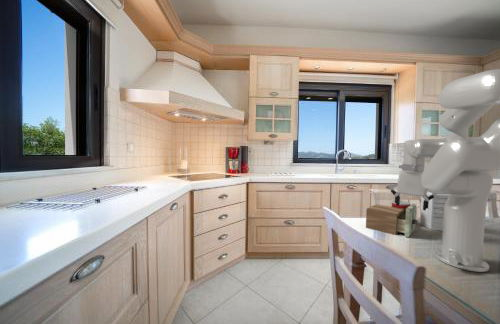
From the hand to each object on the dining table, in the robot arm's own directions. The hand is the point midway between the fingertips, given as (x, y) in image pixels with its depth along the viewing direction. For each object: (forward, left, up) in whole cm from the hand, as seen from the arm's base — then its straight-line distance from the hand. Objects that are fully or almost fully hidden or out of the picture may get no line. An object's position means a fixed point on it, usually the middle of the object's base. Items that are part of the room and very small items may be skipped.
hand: (410, 207), depth 95 cm
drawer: (0, +4, -11) cm, 12 cm away
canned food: (+12, +6, -12) cm, 18 cm away
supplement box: (+19, -7, -12) cm, 24 cm away
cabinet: (0, +9, -12) cm, 15 cm away
